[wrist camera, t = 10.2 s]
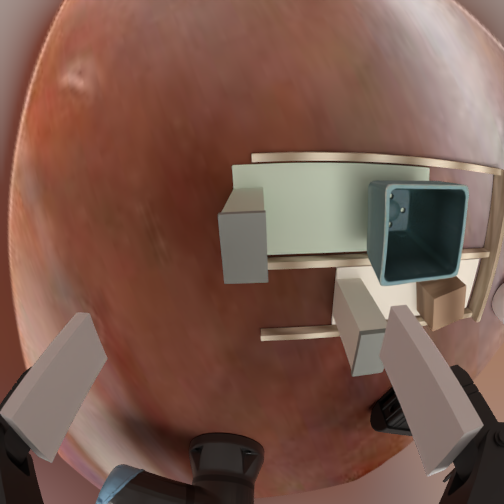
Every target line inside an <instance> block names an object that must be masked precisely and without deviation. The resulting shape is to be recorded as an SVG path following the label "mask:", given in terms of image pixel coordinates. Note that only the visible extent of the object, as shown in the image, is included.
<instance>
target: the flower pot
mask: <svg viewBox="0 0 504 504" xmlns="http://www.w3.org/2000/svg"><path fill="white" fill-rule="evenodd" d="M390 194H392V195H393V197H392V198H390ZM468 198H469V190H468V186H466V185H462V184H455V183H448V182H441V181H400V180H376V181H372V182H370V183H369V185H368V225H367V254H368V258H369V261H370V263H371V265H372V267H373V270H374V272H375V274H376V276H377V278H378V281H379V283H380V285H381V286H393V285H400V284H407V283H414V282H421V281H430V280H438V279H446V278H452V277H455V276H456V275H457V274H458V271H459V267H460V262H461V256H462V248H463V241H464V234H465V225H466V216H467V207H468ZM401 208H404V212H401ZM389 222H391V223H392V225H391V226H390V227H389Z"/></svg>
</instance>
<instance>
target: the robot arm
mask: <svg viewBox="0 0 504 504" xmlns="http://www.w3.org/2000/svg"><path fill="white" fill-rule="evenodd" d="M379 357H380V359H381V361H382V363H383V366H384V368H385V370H386V372H387V375H388V377H389V379H390V381H391V384H392V386H393V389H394V391H395V393H396V396H397V398H398V400H399V403H400V405H401V408H402V410H403V413H404V415H405V418H406V420H407V423H408V425H409V428H410V431H411V433H412V436H413V438H414V441H415V444H416V447H417V449H418V452H419V455H420V458H421V460H422V463H423V466H424V469H425V472H426V475H427V476H430V475H433V474H435V473H437V472H440V471H443V470H445V469H446V468H447V467H448V466H449V465H450V464H451V463H452V462H453V463H454V465H455V468H454V469H453V470H452V471H451V472H450V473H449V474H448V475H447V476H446V477H445V479H444V480H443V482H446V481H447V480H448V479H449V478H450V479H449V482H448V484H447V487H446V489H445V491H444V494H443V496H442V498H441V500H440V502H439V504H504V422H498V421H497V420H496V418H495V416H494V415H493V413H492V411H491V410H490V408H489V406H488V405H487V403H486V401H485V400H484V398H483V396H482V395H481V393H480V392H478V391H479V390H478V388H477V387H476V385H475V384H473V383H474V382H473V380H472V379H471V377H470V376H469V374H468V373H467V372H466V371H465V370H463V369H462V368H461V367H460V366H458V365H455V366H451V367H449V366H448V364H447V362H446V361H445V359H444V358H443V356H442V355H441V353H440V352H439V350H438V349H437V347H436V346H435V344H434V343H433V341H432V340H431V338H430V337H429V336H428V334H427V333H426V331H425V330H424V328H423V327H422V326H421V324H420V323H419V321H418V320H417V319H416V317H415V316H414V314H413V313H412V312H411V310H410V309H409V308H408V306H407V305H398V306H391V308H390V312H389V317H388V322H387V326H386V330H385V335H384V339H383V343H382V347H381V350H380V354H379ZM106 360H107V356H106V354H105V352H104V349H103V347H102V345H101V342H100V340H99V337H98V335H97V332H96V330H95V327H94V324H93V322H92V319H91V316H90V314H89V313H80V312H77V313H76V314H75V315H74V316H73V318H72V319H71V320H70V321H69V322H68V323H67V324H66V326H65V327H64V328H63V329H62V330H61V332H60V333H59V334H58V335H57V336H56V338H55V339H54V340H53V341H52V342H51V344H50V345H49V346H48V347H47V349H46V350H45V351H44V352H43V354H42V355H41V356H40V357H39V359H38V360H37V361H36V363H35V364H34V365H33V366H32V367H30V368H29V369H28V370H26V371H25V372H24V373H23V374H22V375H21V376H20V378H19V379H18V380H17V383H15V384H14V386H13V387H12V390H10V391H9V393H8V394H7V396H6V397H5V398H4V400H3V401H2V403H1V404H0V504H44V503H43V500H42V496H41V492H40V489H39V485H38V482H37V477H36V473H35V469H34V464H33V460H32V457H31V455H30V454H29V451H30V449H31V450H33V452H34V453H35V454H36V455H37V456H38V457H40V458H42V459H45V460H46V461H49V462H51V463H52V462H53V460H54V457H55V455H56V453H57V451H58V449H59V447H60V445H61V443H62V441H63V439H64V437H65V435H66V433H67V431H68V429H69V427H70V425H71V423H72V421H73V419H74V418H75V416H76V414H77V412H78V410H79V408H80V406H81V404H82V403H83V401H84V399H85V397H86V395H87V393H88V392H89V390H90V388H91V386H92V384H93V383H94V381H95V379H96V377H97V376H98V374H99V372H100V370H101V369H102V367H103V365H104V364H105V362H106ZM189 458H190V463H191V468H192V473H193V482H192V485H190V484H186V483H182V482H179V481H175V480H172V479H168V478H165V477H162V476H159V475H155V474H152V473H149V472H147V471H145V470H144V469H138V468H135V467H131V466H128V465H125V464H121V465H118V466H116V467H115V468H114V469H113V470H112V471H111V473H110V474H109V476H108V478H107V479H106V481H105V483H104V485H103V487H102V489H101V491H100V493H99V497H98V499H97V501H96V504H254V484H255V481H256V478H257V476H258V474H259V471H260V469H261V467H262V464H263V462H264V449H263V447H262V446H261V445H260V444H259V443H257V442H255V441H254V440H251V439H249V438H246V437H243V436H239V435H233V434H224V433H213V434H205V435H201V436H198V437H196V438H194V439H193V440H192V441H191V443H190V448H189Z"/></svg>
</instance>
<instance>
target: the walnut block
mask: <svg viewBox="0 0 504 504" xmlns="http://www.w3.org/2000/svg"><path fill="white" fill-rule="evenodd" d="M416 294H417V311H418V312H419V314H420V315H421V317H422V318H423V319H424V321H425V322H426V323H427V325H428V326H429V327H430V329H431V330H432V332H433V331H435V330H437V329H440V328H442V327H444V326H446V325H449V324H451V323H453V322H455V321H458V320H460V319H462V318H463V316H464V308H465V298H466V285H465V284H464V283H463V282H462V281H461V280H460V279H459V278H458V277H457V276H455V277H452V278H446V279H438V280H430V281H421V282H416Z"/></svg>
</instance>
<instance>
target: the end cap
mask: <svg viewBox="0 0 504 504" xmlns="http://www.w3.org/2000/svg"><path fill="white" fill-rule="evenodd" d="M370 422H371V426H372V428H373V429H374V430H375V431H378V432H384V433H391V434H399V435H408V436H412V433H411V431H410V428H409V425H408V423H407V420H406V418H405V415H404V413H403V410H402V408H401V405H400V403H399V400H398V398H397V396H396V393H395V391H394V389H393V387H392V388H391V389H390V390H389V391H388V392H387V393H386V394H384V395H383V396H382V397H381V398H380V399H379V400H378V402H377V403H376V405H375V407H374V408H373V410H372V413H371V418H370Z"/></svg>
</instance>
